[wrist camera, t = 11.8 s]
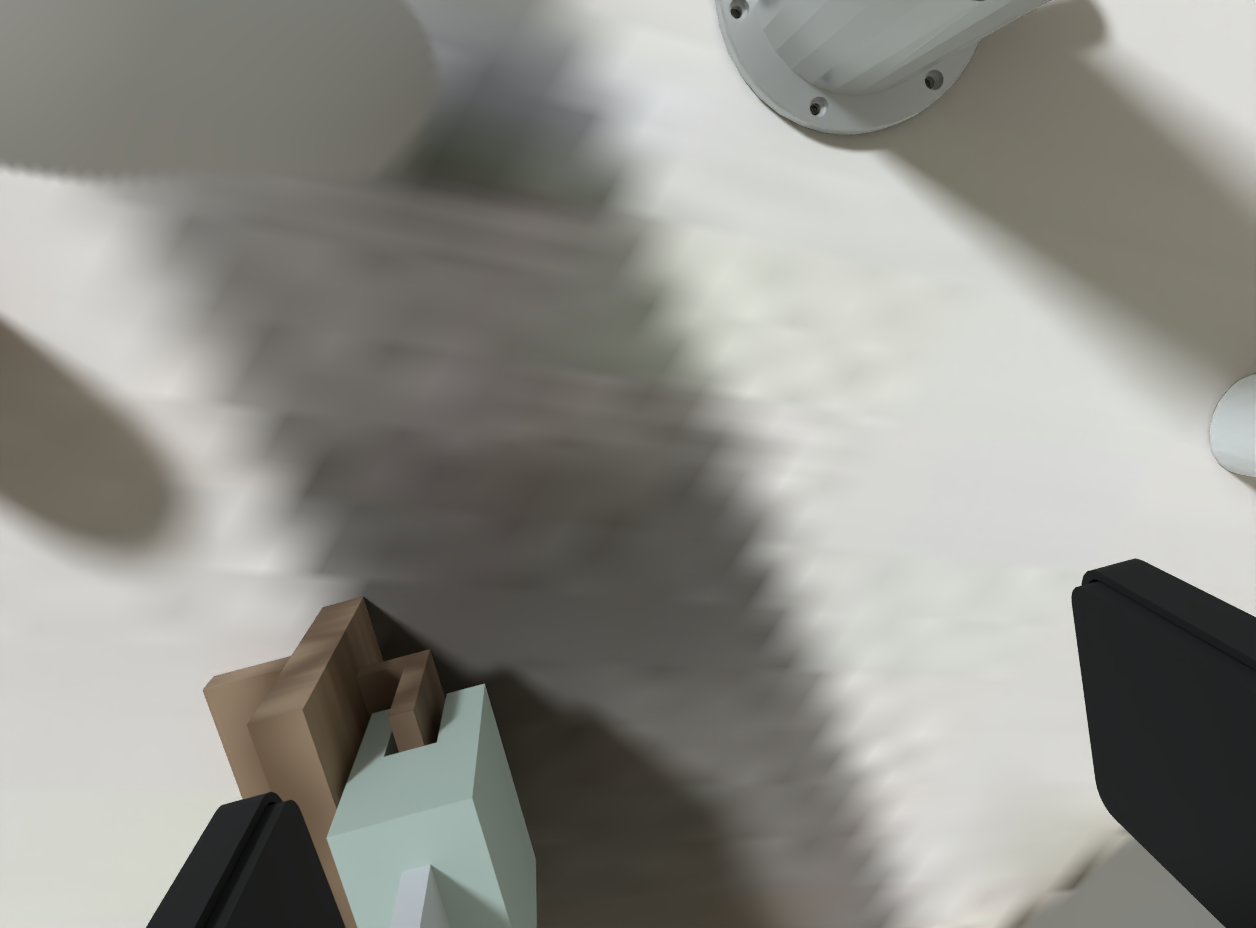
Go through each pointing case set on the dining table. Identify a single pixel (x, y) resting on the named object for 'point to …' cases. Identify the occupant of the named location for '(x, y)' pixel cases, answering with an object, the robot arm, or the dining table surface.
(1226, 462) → the white pointed crystal
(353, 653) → the brown boxy piece
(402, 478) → the dining table surface
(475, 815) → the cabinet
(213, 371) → the dining table surface
